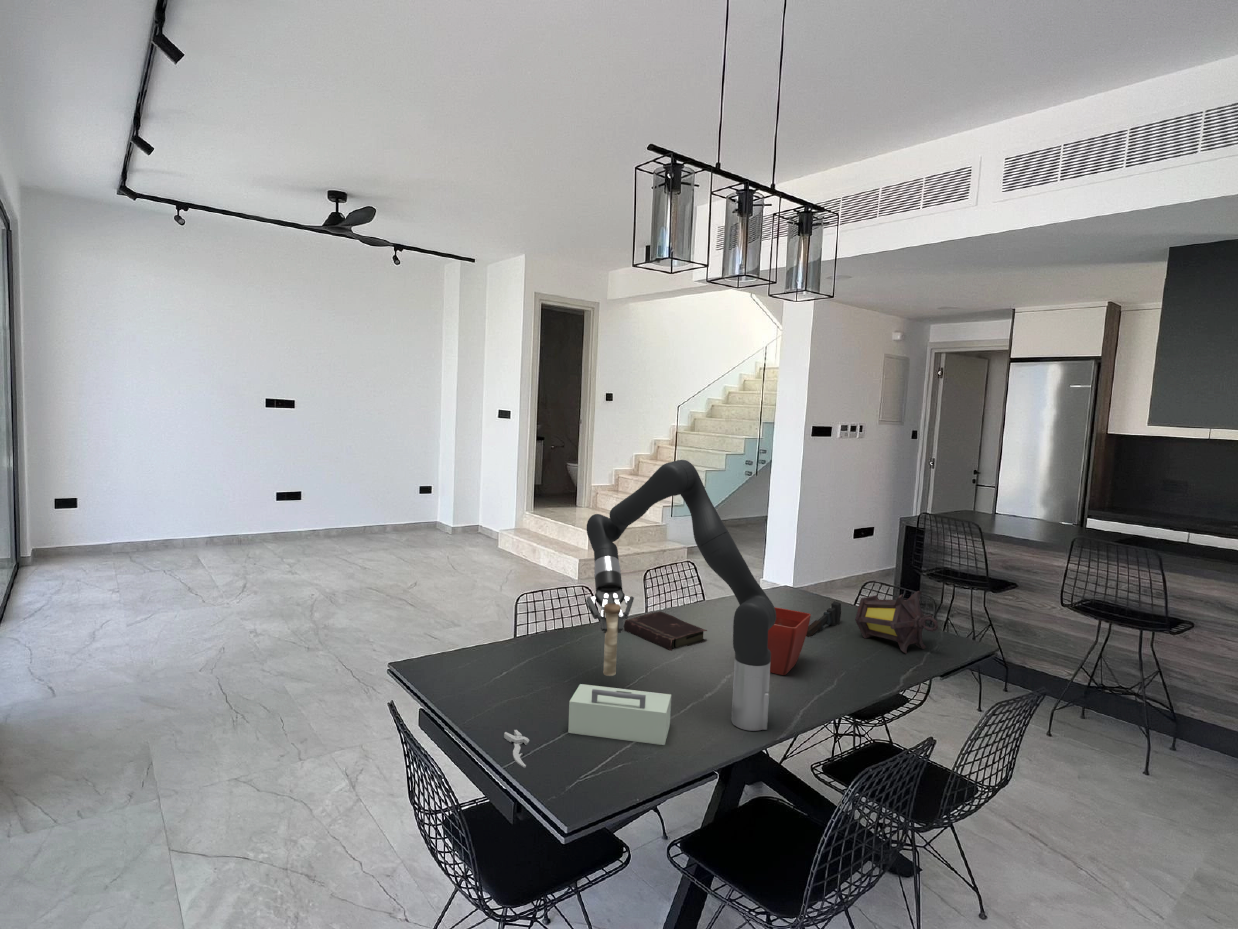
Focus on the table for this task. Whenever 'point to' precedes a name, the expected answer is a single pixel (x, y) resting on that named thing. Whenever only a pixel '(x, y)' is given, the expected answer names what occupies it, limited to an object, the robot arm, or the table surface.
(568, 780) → the table surface
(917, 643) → the lantern
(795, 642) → the plant pot
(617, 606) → the beige long cylinder
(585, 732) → the toolbox
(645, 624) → the diary
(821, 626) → the dark stepped piece
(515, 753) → the pliers
